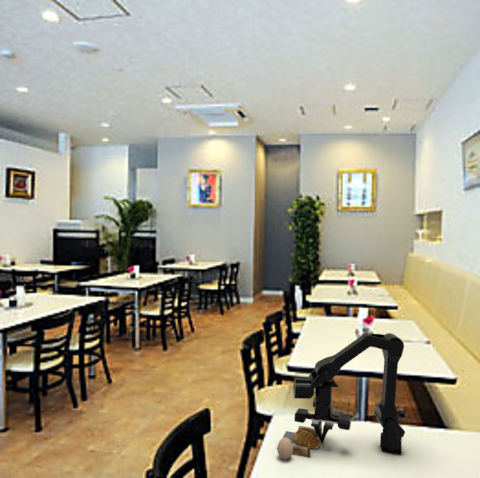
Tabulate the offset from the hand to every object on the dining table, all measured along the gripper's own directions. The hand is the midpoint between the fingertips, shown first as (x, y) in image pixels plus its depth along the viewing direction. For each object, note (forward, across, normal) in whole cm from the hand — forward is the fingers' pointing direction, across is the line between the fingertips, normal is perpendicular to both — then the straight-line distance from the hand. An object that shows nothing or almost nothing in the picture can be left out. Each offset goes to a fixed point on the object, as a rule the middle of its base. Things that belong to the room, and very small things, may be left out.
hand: (322, 443), depth 159 cm
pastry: (+2, +6, -1) cm, 6 cm away
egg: (+2, +10, +12) cm, 16 cm away
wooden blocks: (+2, +6, 0) cm, 6 cm away
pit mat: (+2, +12, 0) cm, 12 cm away
